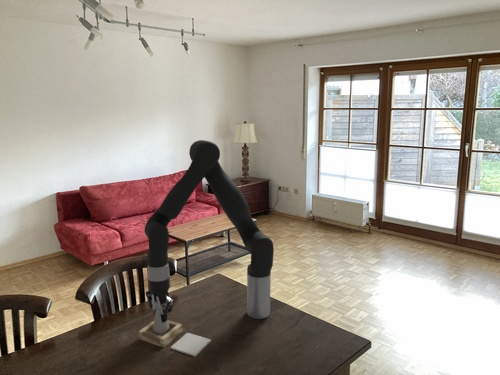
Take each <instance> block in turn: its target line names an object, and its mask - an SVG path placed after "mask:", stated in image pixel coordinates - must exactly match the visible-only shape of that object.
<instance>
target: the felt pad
mask: <svg viewBox="0 0 500 375" xmlns="http://www.w3.org/2000/svg"><path fill="white" fill-rule="evenodd" d="M211 342H212V339H210V338H207V337H205V336H204V337H203V336H200V335H198V334H194V333H190V332H186V333H185V334H184V335H182V337H180V339H179V340H177V341H176V342H175V343H174V344H172V345H171V346H170V349H171V350H174V351H176V352H179V353H183V354H186V355H189V356H192V357H197V356H198V355H199V354H200V353H201V352H202V351H203V350H204V349H205V348H206V346H208V345H209V343H211Z"/></svg>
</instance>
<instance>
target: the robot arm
mask: <svg viewBox="0 0 500 375" xmlns="http://www.w3.org/2000/svg"><path fill="white" fill-rule="evenodd" d="M188 154H189V158H190V160H191V163H190V165H189V166H188V169H187V170H186V171H185V172H184V174H183V175H182V177H181V178H180V179H179V180H178V181H177V182H176V183H175V184H174V185H173V186H172V188H171V189H170V190H169V191H168V193H167V194H166V195H165V197H164V199H163V201H162V202H161V204H160V206H159V207H158V208H157V209H156V210H155V211H154V212H153V214H152V215H151V216H150V217H149V219H148V220H147V221H146V223H145V225H144V229H143V230H144V234H145V236H146V237H147V238H148V239H147V240H148V250H147V254H146V256H147V258H146V259H147V270H146V272H147V287H148V290H147V291H145V292H144V293H145V296H146V300H147V303H148V305H149V307H150V308H152V310H153V315H154V316H153V317H154V318H155V312H156V308H155V307H154V302H155V301H157V302H158V306H159V308H160V311H161V320H162V323H163V322H166V321H167V320H169V318H168V314H169V313H172V310H173V308H174V305H175V302H176V300H175V299H174V298H171V297H170V294H169V290H170V287H171V279H170V278H171V277H170V276H171V275H170V274H171V273H170V266H169V253H168V251H169V250H168V249H169V243H170V232H169V228H168V225H169V224H170V222H172V220H176V219H177V218H178V216H180V213H181V212H182V210H183V209H184V207H185V205H186V204H187V202H188V200H189V199H190V197H191V196H192V194H193V193H194V191H195V190H196V189H197V187H198V186H199V185H200V183H201V182H202V181H203V179H204V180H206V182H207V184H208V186H209V188H210V190H211V192H212V193H213V196H214V197H215V198H216V200H217V202H218V204H219V206H220V207H221V210H222V211H223V213H224V214H225V215H226V216H227V218H228V220H229V221H230V223H231V224H232V225H233V226H234V228H235V229H236V230H237V233H238V234H239V236H240V238H241V240H242V243H243V245H244V248H245V249H246V251H247V252H248V253H249V254H250V264H248V265H247V270H246V271H247V274H246V282H247V283H246V286H247V290H246V295H247V296H246V302H247V303H246V314H247V316H248V317H249V318H252V319H256V320H261V319H266V318H268V317H269V316H270V314H271V279H272V278H271V273H272V272H271V271H272V268H273V265H274V253H275V250H274V249H275V248H274V242H273V241H272V239H271V238H270V237H268V236H267V235H266V234H264V233H263V232H262V231H261V230H260V228H259V227H258V226H257V224H256V222H254V219H253V217H252V214H251V211H250V207H249V204H248V201H247V200H246V198H245V195H243V193H242V191H241V190H240V188H239V186H238V185H237V184H236V183H235V181H233V179H232V178H231V177H230V176H229V175H228V174H227V172H225V170H224V169H223V167H222V166H221V165H220V162H219V160H220V157H221V151H220V147H219V146H218V145H217V144H216V143H215V142H212V141H209V140H203V139H201V140H196V141H194V142H193V143H192V144H190V148H189V153H188ZM164 303H166V304H164ZM162 304H164V305H162ZM164 307H165V310H163V308H164ZM167 318H168V319H167Z"/></svg>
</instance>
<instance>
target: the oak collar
mask: <svg viewBox="0 0 500 375" xmlns="http://www.w3.org/2000/svg"><path fill="white" fill-rule="evenodd" d="M168 322H169V330H168V332H167V333H166V334H165V335H164V336H160V335H157V334H155V332H154V330H153V325H154V320H153V321H151V322H150V323H149V324H147V325H146V326H145V327H143V328H141V329H140V330H139V331H138V340H140V341H143V342H146V343H148V344H152V345H153V346H158V347H161V348H165V347H167V345H169V344H170V343H171V342H172V341H174V339H176V338H177V337H178V336H180V335H181V333H183V331H184V330H183V329H184V328H183V324H182V323H180V322H176V321H172V320H169V319H168Z"/></svg>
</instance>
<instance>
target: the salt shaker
mask: <svg viewBox="0 0 500 375" xmlns="http://www.w3.org/2000/svg"><path fill="white" fill-rule="evenodd" d="M164 304H166V303H164ZM164 304H162V305H164ZM154 307H155V308H156V312H155V317H154V320H153V321H154V325H153V330H154V332H153V333H154V334H157V335H160V336H164V335H165V334H166V333H168V332H169V331H170V330H169V322H168V320H169V318H168V317H167V319H168V320H167V321H166V322H163V323H162V320H161V311H160V308H159V306H158V302H157V301H155V302H154ZM163 310H165V307H164V308H163Z"/></svg>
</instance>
